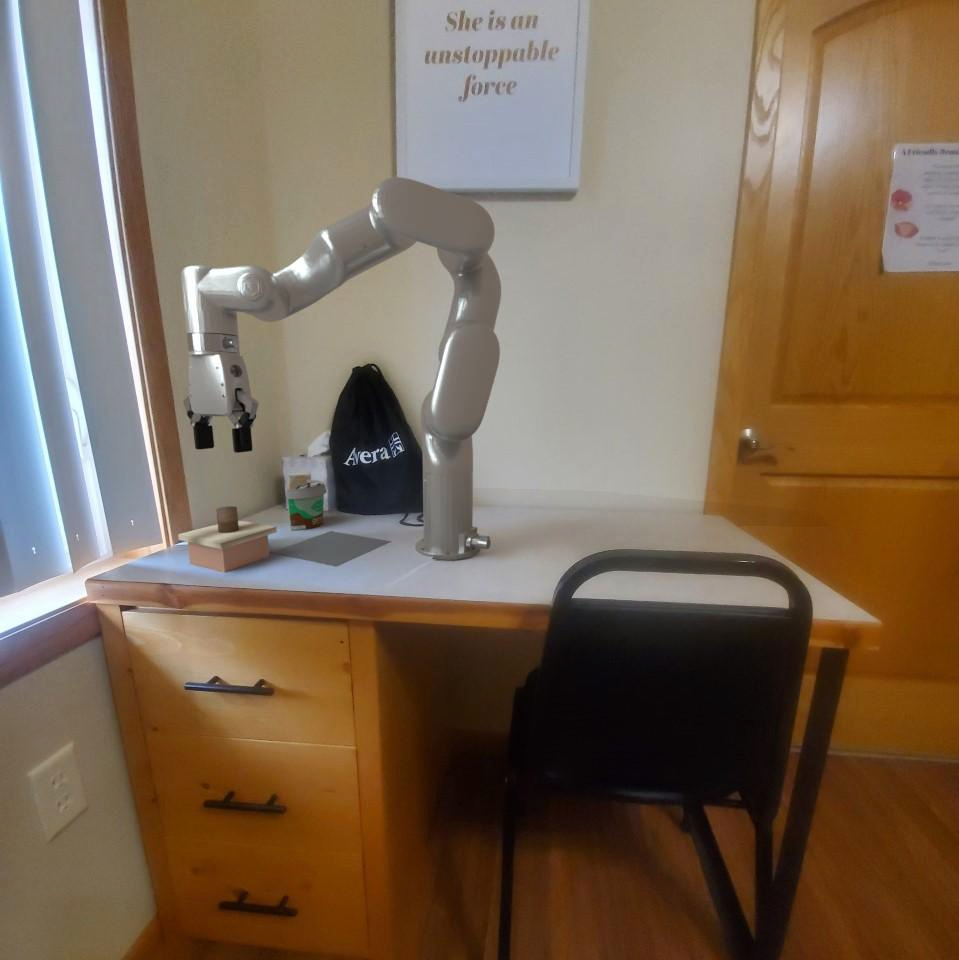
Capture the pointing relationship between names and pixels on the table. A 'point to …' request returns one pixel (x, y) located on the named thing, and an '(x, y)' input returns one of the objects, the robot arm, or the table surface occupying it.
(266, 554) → the open square bin
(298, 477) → the box
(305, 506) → the food container
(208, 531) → the lid
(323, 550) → the mat
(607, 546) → the table surface
